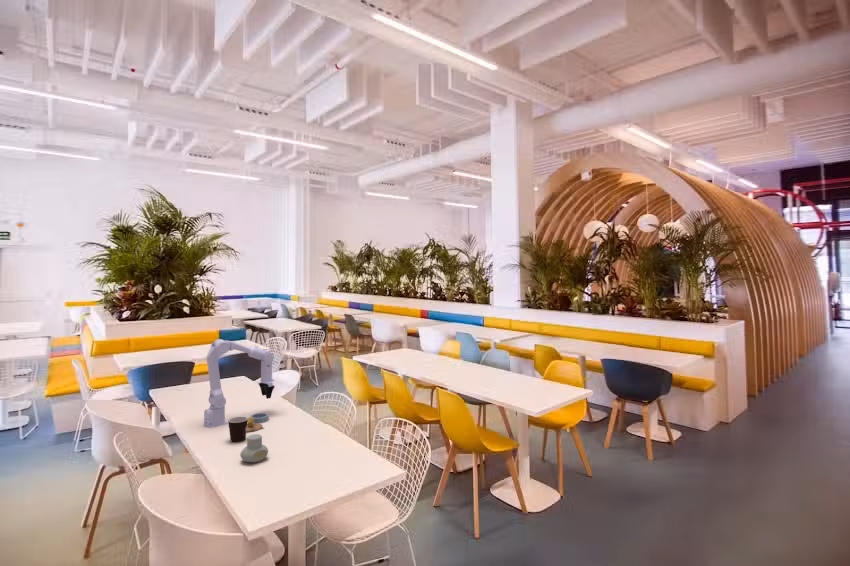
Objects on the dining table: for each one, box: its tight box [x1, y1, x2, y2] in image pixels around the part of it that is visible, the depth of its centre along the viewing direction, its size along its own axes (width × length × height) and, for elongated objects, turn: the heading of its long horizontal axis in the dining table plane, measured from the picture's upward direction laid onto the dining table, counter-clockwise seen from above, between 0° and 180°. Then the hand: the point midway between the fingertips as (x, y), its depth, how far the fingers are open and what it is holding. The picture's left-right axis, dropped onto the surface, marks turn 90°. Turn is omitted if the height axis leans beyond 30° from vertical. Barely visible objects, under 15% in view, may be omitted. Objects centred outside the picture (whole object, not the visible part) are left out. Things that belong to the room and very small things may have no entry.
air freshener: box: [240, 433, 269, 464], centre depth 187 cm, size 11×8×10 cm
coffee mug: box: [227, 416, 249, 443], centre depth 210 cm, size 12×9×10 cm
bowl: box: [250, 412, 270, 424], centre depth 236 cm, size 9×9×3 cm
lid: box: [246, 417, 263, 433], centre depth 224 cm, size 11×11×5 cm
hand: (266, 396), depth 247 cm, fingers open, 7 cm apart
